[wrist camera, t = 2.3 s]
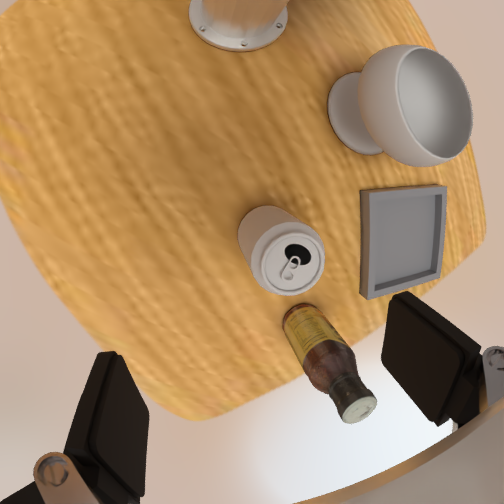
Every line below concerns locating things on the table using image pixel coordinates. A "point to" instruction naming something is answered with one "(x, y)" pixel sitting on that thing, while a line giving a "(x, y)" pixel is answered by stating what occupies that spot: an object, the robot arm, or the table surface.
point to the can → (281, 250)
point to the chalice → (403, 107)
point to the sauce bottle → (328, 362)
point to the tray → (401, 237)
